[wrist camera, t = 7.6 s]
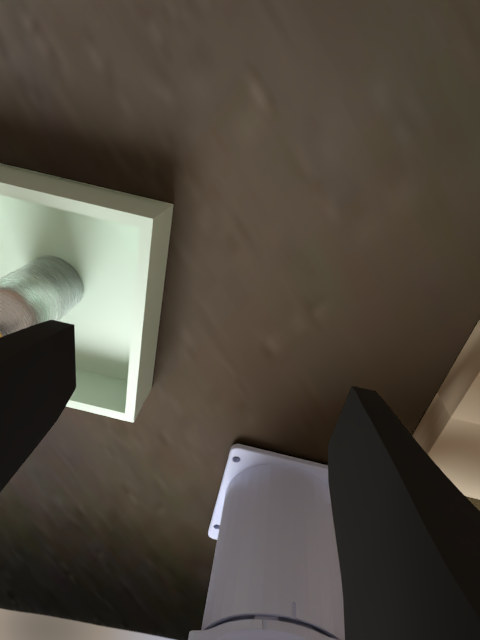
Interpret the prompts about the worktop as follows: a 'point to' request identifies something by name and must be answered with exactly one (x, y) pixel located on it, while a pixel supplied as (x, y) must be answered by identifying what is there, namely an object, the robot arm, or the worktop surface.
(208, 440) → the worktop surface
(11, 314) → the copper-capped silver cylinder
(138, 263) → the tray
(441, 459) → the plate
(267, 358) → the worktop surface
